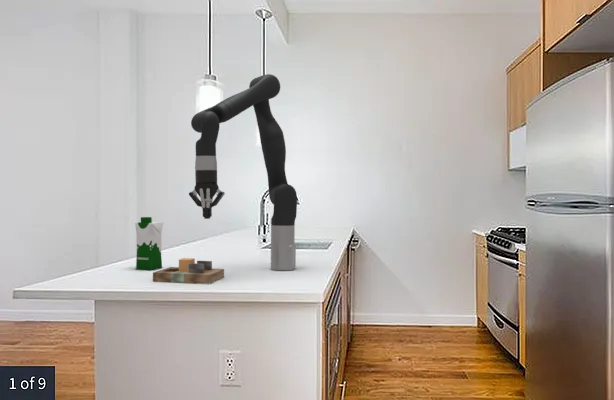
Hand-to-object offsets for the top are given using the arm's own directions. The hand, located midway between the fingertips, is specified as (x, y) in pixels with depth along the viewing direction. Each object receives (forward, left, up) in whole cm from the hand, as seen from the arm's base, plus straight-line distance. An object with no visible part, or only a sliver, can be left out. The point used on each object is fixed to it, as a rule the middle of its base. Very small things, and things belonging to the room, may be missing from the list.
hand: (207, 218), depth 196 cm
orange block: (+5, +6, -18) cm, 19 cm away
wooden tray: (+4, +6, -21) cm, 22 cm away
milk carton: (+29, -14, -21) cm, 38 cm away
